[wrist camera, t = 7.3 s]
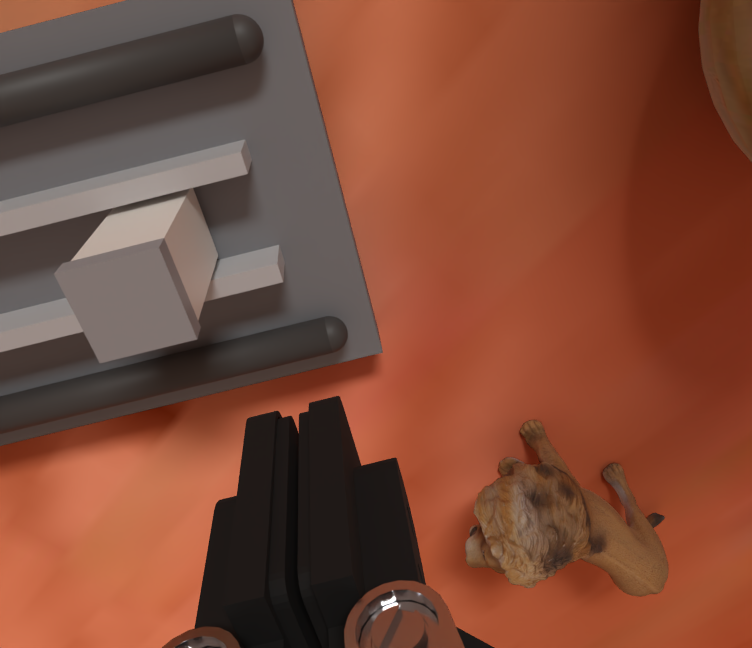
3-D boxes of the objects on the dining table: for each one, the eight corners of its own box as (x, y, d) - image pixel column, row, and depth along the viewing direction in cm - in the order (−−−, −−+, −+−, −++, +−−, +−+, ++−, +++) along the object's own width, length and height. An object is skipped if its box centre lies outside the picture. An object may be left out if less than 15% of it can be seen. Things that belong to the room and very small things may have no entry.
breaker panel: (282, -40, 24) (278, -41, 21) (378, 331, 32) (387, 376, 28) (-340, 122, 25) (-447, 148, 21) (-98, 447, 32) (-147, 506, 29)
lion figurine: (425, 465, 36) (459, 604, 28) (476, 390, 34) (528, 518, 26) (632, 538, 40) (711, 677, 32) (688, 477, 38) (787, 608, 30)
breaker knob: (193, 181, 25) (158, 247, 19) (221, 256, 27) (197, 339, 21) (113, 202, 25) (53, 273, 19) (145, 275, 27) (99, 363, 21)
